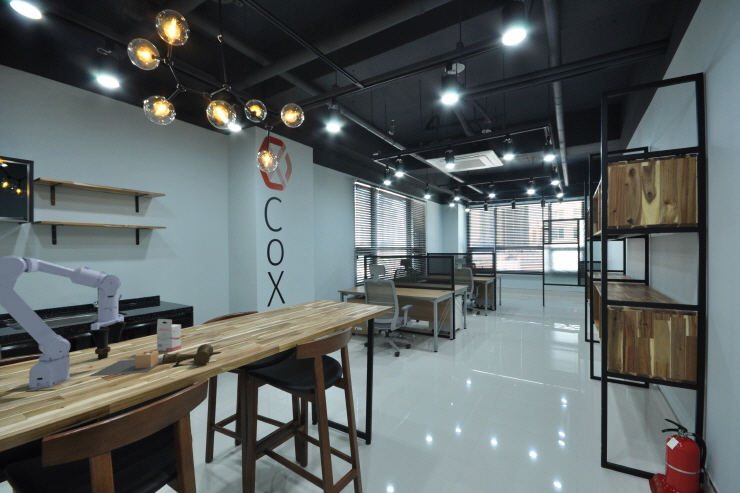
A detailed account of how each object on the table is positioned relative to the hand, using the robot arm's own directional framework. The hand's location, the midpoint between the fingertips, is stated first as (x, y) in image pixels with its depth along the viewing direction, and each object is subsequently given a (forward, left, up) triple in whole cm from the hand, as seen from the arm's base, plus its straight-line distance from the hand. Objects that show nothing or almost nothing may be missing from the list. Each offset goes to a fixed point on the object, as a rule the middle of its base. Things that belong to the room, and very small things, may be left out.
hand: (108, 345), depth 117 cm
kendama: (+5, -27, -10) cm, 29 cm away
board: (0, -8, -9) cm, 12 cm away
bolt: (+13, +10, -10) cm, 19 cm away
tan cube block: (0, -13, -8) cm, 15 cm away
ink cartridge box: (+21, -11, -10) cm, 26 cm away
